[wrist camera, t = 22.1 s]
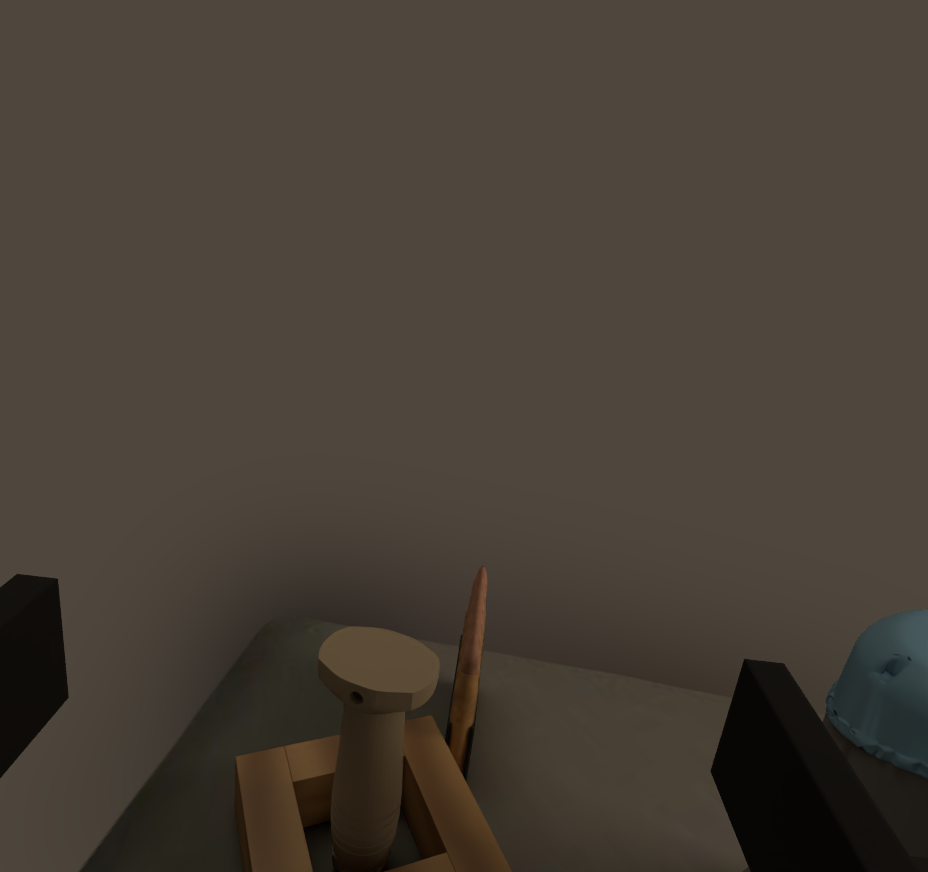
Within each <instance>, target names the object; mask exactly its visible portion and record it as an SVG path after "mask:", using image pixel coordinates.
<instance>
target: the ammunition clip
mask: <svg viewBox="0 0 928 872" xmlns="http://www.w3.org/2000/svg"><path fill="white" fill-rule="evenodd" d="M486 593H487V575H486V570H485V567H484V566H482V567H481V568H480V569H479V571H478V572H477V575H476V577H475V580H474V584H473V587H472V593H471V597H470V602H469V606H468V608H467V611H466V616H465V623H464V629H463V635H461V640H460V646H459V653H458V659H457V665H456V672H455V678H454V684H453V691H452V697H451V704H450V710H449V716H448V723H447V730H446V737H445V742H446V744H447V746H448V748H449V750H450V752H451V754H452V755H453V757H454V759H455V761H456V763H457V765H458V767H459V769H460V771H461V773H462V775H463V777H464V779H465V781H466V780H467V774H468V767H469V761H470V754H471V748H472V742H473V735H474V729H475V719H476V709H477V700H478V690H479V680H480V670H481V660H482V651H483V641H484V639H483V636H484V625H485V618H486V610H485V605H486Z"/></svg>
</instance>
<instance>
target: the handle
mask: <svg viewBox="0 0 928 872" xmlns="http://www.w3.org/2000/svg"><path fill="white" fill-rule="evenodd" d="M439 668H440V663H439V658H438V656H437V655H436V654H435V653H433V652H432V651H431V650H430V649H428V648H427V647H426V646H424V645H423V644H422V643H420V642H419V641H417V640H415V639H413V638H411V637H408V636H405V635H402V634H399V633H396V632H393V631H390V630H386V629H382V628H373V627H351V626H350V627H347V628H343V629H341V630H339V631H337V632H335V633H334V634H332V635H331V636H330V637H328V638H327V639H326V640H325V642H324V643H323V644H322V646H321V648H320V650H319V660H318V674H319V678H320V679H321V681H322V682H323V683H324V684H325V685H326V686H327V688H328V689H329V690H330V691H331V692H332V693H333V694H334V695H335V696H337V697H338V698H339V699H340V700H341V701H342V702H344V712H343V720H342V727H341V735H340V742H339V749H338V755H337V762H336V768H335V775H334V781H333V787H332V798H331V836H332V844H333V848H332V861H333V867H334V868H335V869H336V870H338V871H339V872H381V871H382V870H383V869H384V868H385V867H386V866H387V864H388V861H389V858H390V854H391V847H392V844H393V840H394V837H395V833H396V829H397V824H398V819H399V813H400V805H401V795H402V773H403V742H404V725H405V712H407V711H412V710H415V709H417V708H419V707H421V706H422V705H424V704H425V703H426V702H427V701H428V700H429V699H430V697H431V696H432V695H433V693H434V691H435V689H436V685H437V681H438V675H439Z"/></svg>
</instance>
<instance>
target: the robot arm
mask: <svg viewBox="0 0 928 872" xmlns="http://www.w3.org/2000/svg"><path fill="white" fill-rule="evenodd" d="M66 675H67V674H66V663H65V652H64V641H63V631H62V620H61V608H60V597H59V586H58V579H55V578H47V577H38V576H30V575H21V574H17V575H15V576H14V577H13V578H12V579H11V580H9V581H8V582H7V583H5V584H4V585H3V586H2V587H0V778H1V777H2V775H3V774H4V773H5V772H6V771H7V770H8V768H9V767H10V766H11V765H12V764H13V763H14V761H15V760H16V759H17V758H18V757H19V755H20V754H21V753H22V752H23V751H24V749H25V748H26V747H27V746H28V745H29V744H30V742H31V741H32V740H33V739H34V738H35V737H36V735H37V734H38V733H39V732H40V731H41V729H42V728H43V727H44V726H45V725H46V724H47V722H48V721H49V720H50V719H51V718H52V716H53V715H54V714H55V713H56V712H57V710H58V709H59V708H60V707H61V706H62V705H63V703H64V702H65V701H66V700H67V699H68V687H67V686H68V685H67V676H66ZM826 703H827V707H826V714H825V717H824V720H823V723H822V721H821V720H820V718H819V716H818V715H817V713H816V712H815V710H814V709H813V707H812V706H811V704H810V703H809V701H808V700H807V698H806V697H805V695H804V694H803V692H802V690H801V689H800V687H799V686H798V684H797V683H796V681H795V680H794V678H793V677H792V675H791V674H790V672H789V671H788V669H787V668H786V666H785V664H783V663H774V662H766V661H756V660H749V659H744V662H743V665H742V668H741V672H740V675H739V678H738V682H737V685H736V688H735V692H734V695H733V698H732V702H731V705H730V708H729V712H728V715H727V718H726V722H725V725H724V728H723V732H722V735H721V738H720V742H719V745H718V748H717V752H716V755H715V758H714V762H713V765H712V768H711V774H712V776H713V779H714V781H715V784H716V786H717V789H718V791H719V794H720V796H721V799H722V801H723V804H724V806H725V809H726V811H727V814H728V816H729V819H730V821H731V824H732V826H733V829H734V831H735V834H736V836H737V839H738V841H739V844H740V846H741V849H742V851H743V854H744V856H745V859H746V861H747V864H748V866H749V867H748V868H747V869H745V870H744V871H743V872H928V609H920V610H911V611H906V612H900V613H896V614H893V615H891V616H887V617H885V618H883V619H880V620H878V621H877V622H875V623H874V624H872V625H871V626H869V627H868V628H867V629H866V630H865V631H864V632H863V633H862V634H861V636H859V638H858V639H857V641H856V643H855V645H854V647H853V649H852V651H851V653H850V656H849V658H848V660H847V662H846V664H845V666H844V669H843V671H842V673H841V675H840V677H839V679H838V680H837V681H836V682H835V683H834V684H833V686H832V687H831V688H830V690H829V692H828V695H827V698H826Z"/></svg>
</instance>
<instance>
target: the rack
mask: <svg viewBox="0 0 928 872" xmlns="http://www.w3.org/2000/svg"><path fill="white" fill-rule="evenodd" d="M340 735H341V734H339V735H334V736H330V737H325V738H320V739H316V740H311V741H306V742H301V743H297V744H292V745H287V746H283V747H278V748H273V749H268V750H264V751H259V752H254V753H250V754H245V755H240V756H236V757H235V812H236V819H237V827H238V834H239V842H240V849H241V857H242V864H243V872H313V869H312V864H311V860H310V856H309V851H308V847H307V843H306V838H305V834H304V830H303V828H305V827H309V826H312V825H316V824H320V823H324V822H327V821H331V798H332V787H333V781H334V775H335V768H336V762H337V755H338V749H339V742H340ZM401 806H402V809H403V811H404V814H405V816H406V819H407V822H408V824H409V827H410V829H411V832H412V834H413V837H414V839H415V842H416V844H417V847H418V849H419V852H420V855H421V857H422V860H420V861H417V862H414V863H410V864H407V865H404V866H400V867H397V868H394V869H391V870H387V871H384V872H512V870H511V868H510V866H509V864H508V862H507V860H506V859H505V857H504V855H503V853H502V851H501V849H500V847H499V845H498V843H497V841H496V839H495V837H494V835H493V833H492V831H491V829H490V827H489V825H488V824H487V822H486V820H485V818H484V816H483V814H482V812H481V810H480V808H479V806H478V804H477V802H476V800H475V798H474V796H473V794H472V792H471V790H470V789H469V787H468V785H467V783H466V781H465V779H464V777H463V775H462V773H461V771H460V769H459V767H458V765H457V763H456V761H455V759H454V757H453V755H452V754H451V752H450V750H449V748H448V746H447V744H446V742H445V740H444V738H443V736H442V734H441V732H440V730H439V728H438V726H437V724H436V722H435V720H434V719H433V717H432V715H429V716H424V717H419V718H415V719H410V720H405V725H404V742H403V773H402V795H401Z"/></svg>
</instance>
